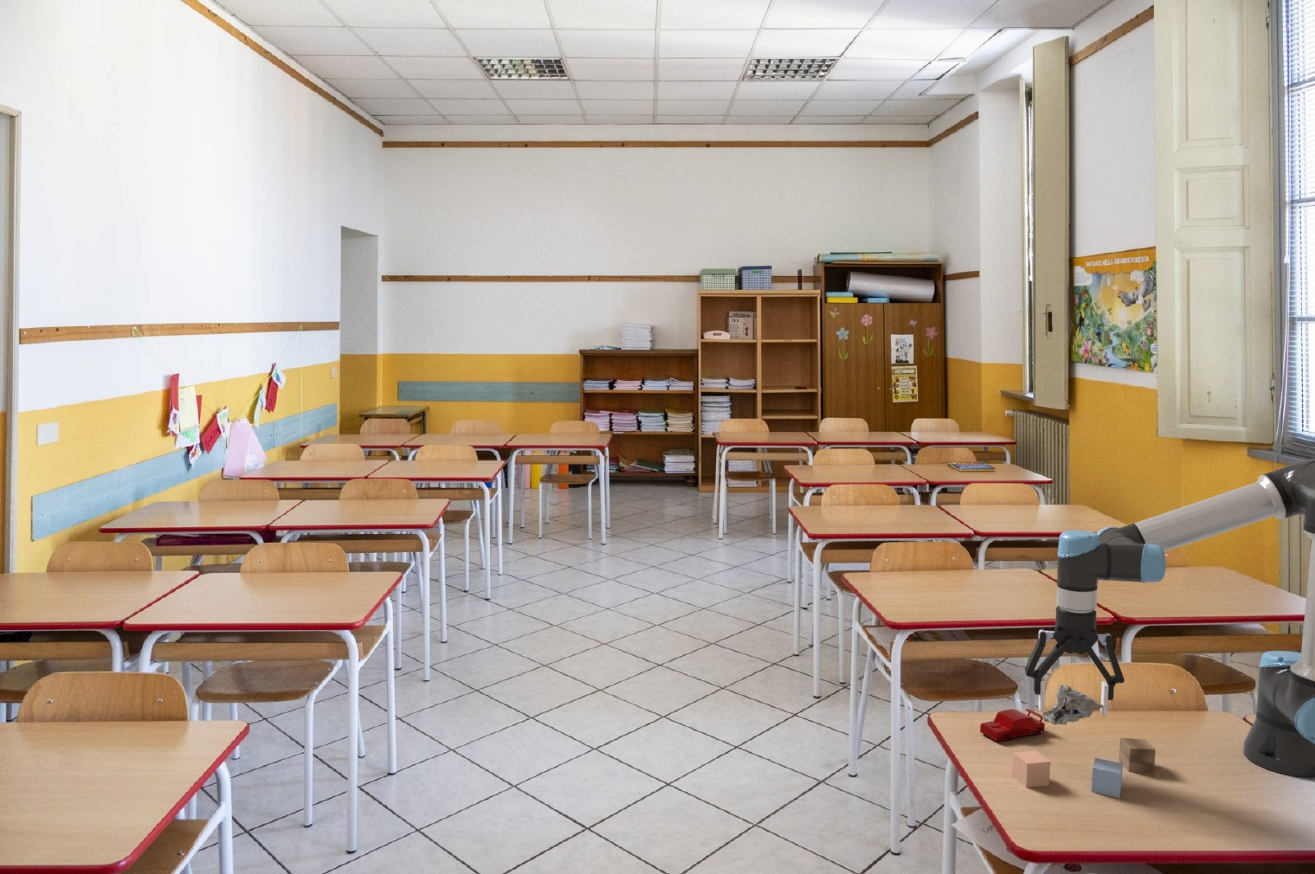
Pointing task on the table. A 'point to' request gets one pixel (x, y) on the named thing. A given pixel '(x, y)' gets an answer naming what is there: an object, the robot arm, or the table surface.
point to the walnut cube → (1137, 755)
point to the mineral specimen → (1070, 707)
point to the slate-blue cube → (1107, 777)
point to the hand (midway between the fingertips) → (1072, 712)
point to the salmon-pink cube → (1031, 769)
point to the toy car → (1012, 725)
